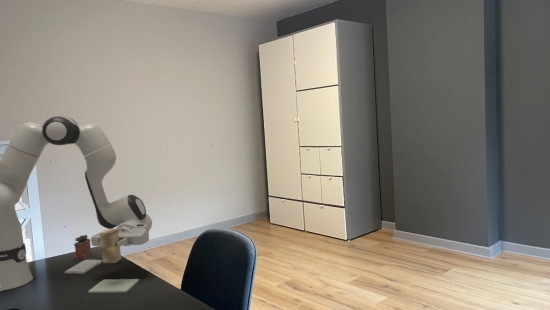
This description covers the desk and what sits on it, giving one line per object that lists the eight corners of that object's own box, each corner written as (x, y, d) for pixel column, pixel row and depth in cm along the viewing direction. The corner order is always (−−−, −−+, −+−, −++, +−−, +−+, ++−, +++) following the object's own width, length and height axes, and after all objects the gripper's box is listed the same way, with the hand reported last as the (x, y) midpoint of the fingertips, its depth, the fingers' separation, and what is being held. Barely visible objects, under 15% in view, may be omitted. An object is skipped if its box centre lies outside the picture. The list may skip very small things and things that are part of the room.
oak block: (103, 263, 147) (99, 232, 146) (109, 258, 152) (106, 229, 151) (115, 262, 147) (111, 232, 146) (121, 258, 151) (118, 228, 150)
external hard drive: (102, 263, 176) (83, 274, 164) (84, 263, 177) (64, 274, 165) (101, 259, 176) (82, 270, 164) (84, 259, 177) (64, 270, 165)
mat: (88, 292, 144) (88, 291, 144) (103, 281, 154) (103, 279, 154) (126, 292, 143) (126, 290, 142) (139, 280, 152) (139, 279, 152)
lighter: (87, 254, 187) (85, 233, 186) (93, 254, 186) (91, 233, 185) (74, 260, 180) (71, 238, 179) (80, 261, 179) (77, 238, 178)
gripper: (101, 226, 162) (80, 237, 149) (151, 225, 160) (135, 235, 146) (103, 242, 163) (82, 254, 149) (152, 240, 160) (136, 253, 147)
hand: (109, 245), depth 148 cm, fingers closed on oak block, 4 cm apart
